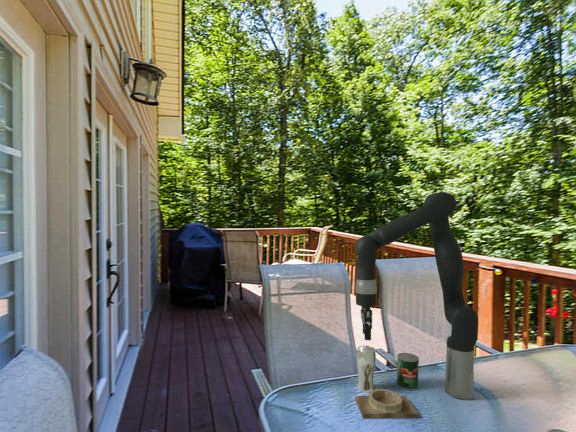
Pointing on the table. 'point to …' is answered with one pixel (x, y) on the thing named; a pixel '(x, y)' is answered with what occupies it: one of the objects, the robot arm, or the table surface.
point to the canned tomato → (407, 371)
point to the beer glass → (366, 367)
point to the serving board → (377, 414)
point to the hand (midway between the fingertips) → (366, 336)
